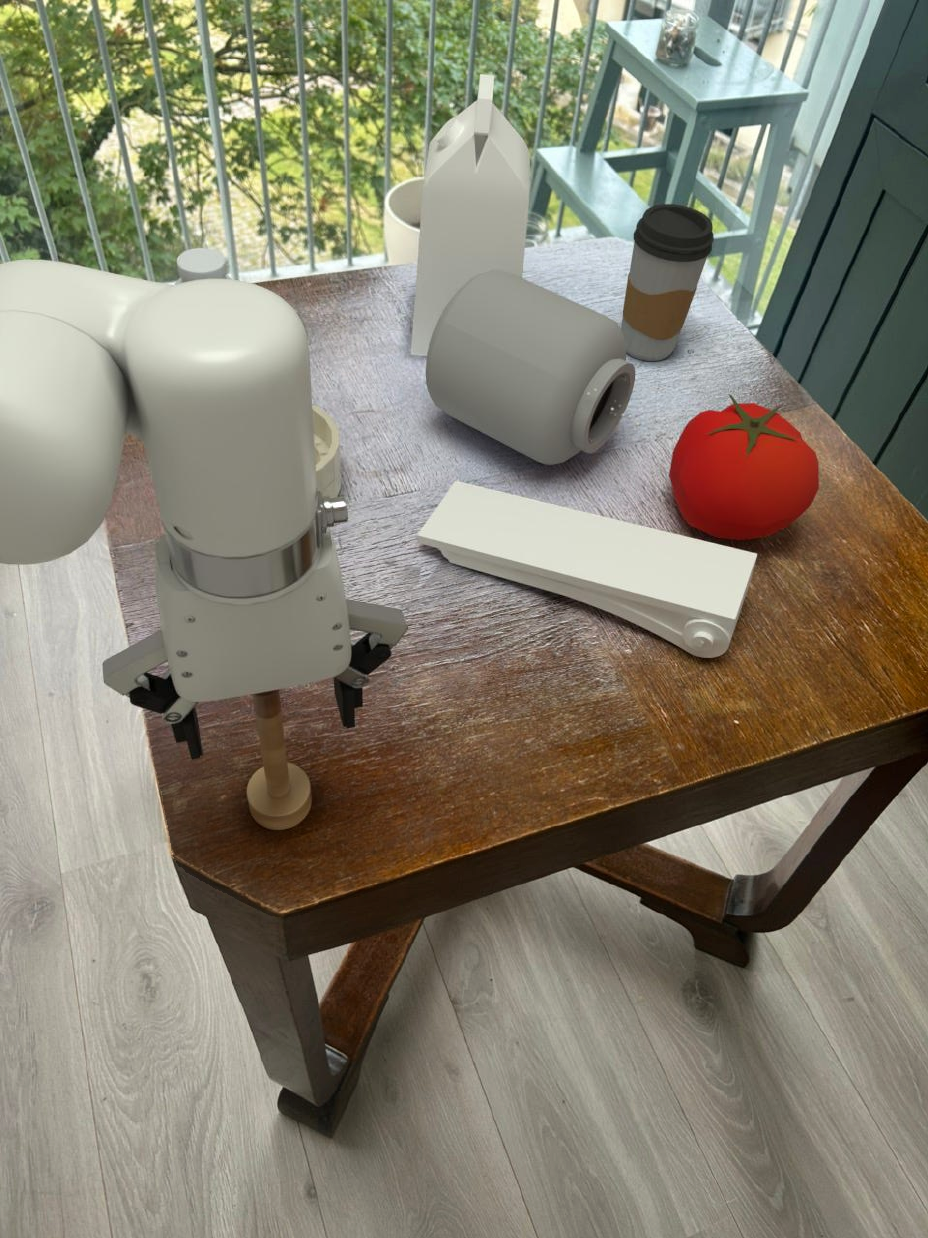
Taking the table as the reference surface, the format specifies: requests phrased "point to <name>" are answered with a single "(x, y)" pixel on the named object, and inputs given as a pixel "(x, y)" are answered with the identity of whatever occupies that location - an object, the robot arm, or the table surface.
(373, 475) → the table surface
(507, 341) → the jar
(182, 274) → the pill bottle
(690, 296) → the coffee cup
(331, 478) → the bowl
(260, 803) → the stirrer
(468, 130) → the milk
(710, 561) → the wall bracket
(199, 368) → the robot arm
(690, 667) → the table surface
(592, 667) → the table surface
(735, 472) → the tomato
